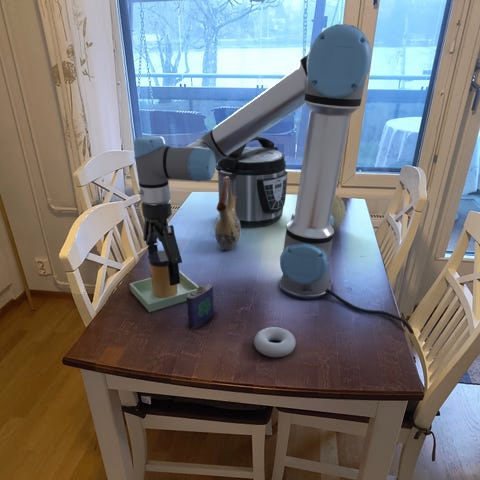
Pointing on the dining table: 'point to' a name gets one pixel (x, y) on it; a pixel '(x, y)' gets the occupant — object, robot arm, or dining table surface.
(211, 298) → the flask
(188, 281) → the serving tray
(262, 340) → the donut
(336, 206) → the cantaloupe
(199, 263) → the dining table surface
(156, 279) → the jar
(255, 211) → the pressure cooker
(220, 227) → the ceramic vessel
